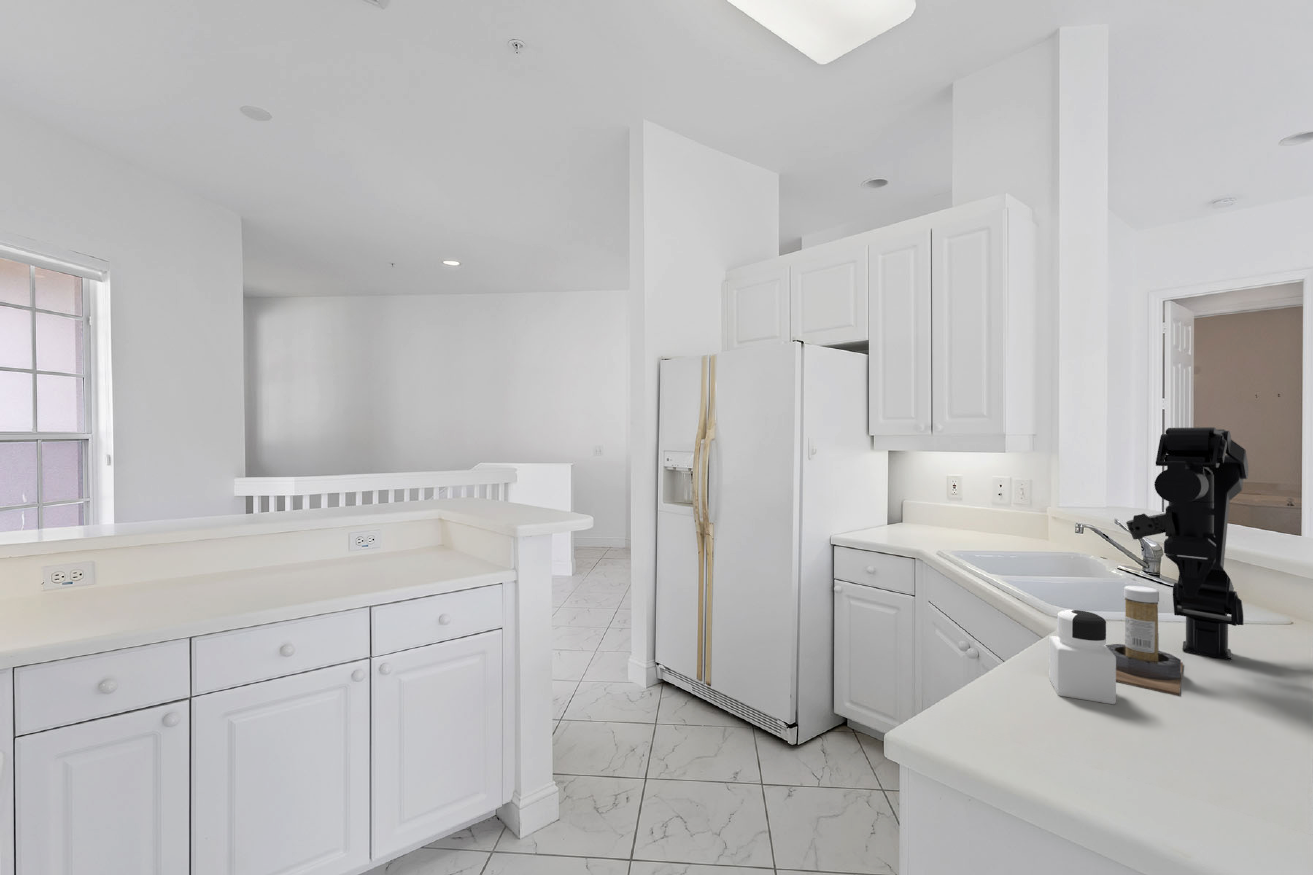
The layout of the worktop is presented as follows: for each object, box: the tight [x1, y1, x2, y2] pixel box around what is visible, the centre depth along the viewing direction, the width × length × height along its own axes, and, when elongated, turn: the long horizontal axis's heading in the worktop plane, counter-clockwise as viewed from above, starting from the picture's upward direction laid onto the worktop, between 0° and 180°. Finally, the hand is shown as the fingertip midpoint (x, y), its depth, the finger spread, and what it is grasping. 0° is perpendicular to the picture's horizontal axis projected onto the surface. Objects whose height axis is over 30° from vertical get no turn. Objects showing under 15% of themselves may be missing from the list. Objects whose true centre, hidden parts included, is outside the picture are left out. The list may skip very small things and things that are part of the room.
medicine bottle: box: [1048, 609, 1117, 705], centre depth 90 cm, size 7×7×12 cm
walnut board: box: [1116, 661, 1184, 697], centre depth 99 cm, size 18×10×1 cm, turn 137°
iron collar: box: [1105, 643, 1182, 680], centre depth 99 cm, size 10×10×2 cm
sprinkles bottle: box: [1123, 585, 1160, 662], centre depth 99 cm, size 5×5×13 cm
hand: (1190, 592), depth 100 cm, fingers open, 9 cm apart
